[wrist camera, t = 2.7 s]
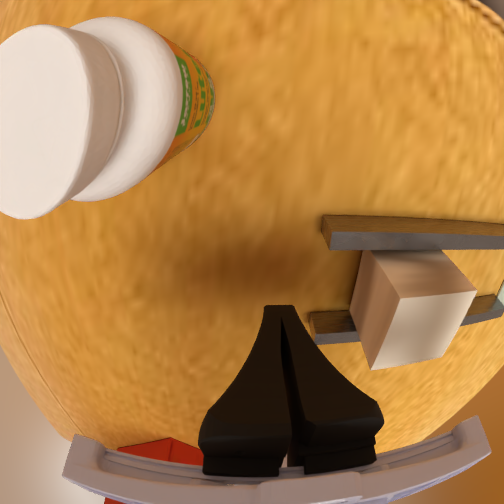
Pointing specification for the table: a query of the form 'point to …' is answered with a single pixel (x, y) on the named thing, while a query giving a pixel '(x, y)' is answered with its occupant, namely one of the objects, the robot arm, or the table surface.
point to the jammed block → (408, 305)
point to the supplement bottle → (93, 111)
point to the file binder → (164, 454)
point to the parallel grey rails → (403, 238)
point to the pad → (501, 293)
